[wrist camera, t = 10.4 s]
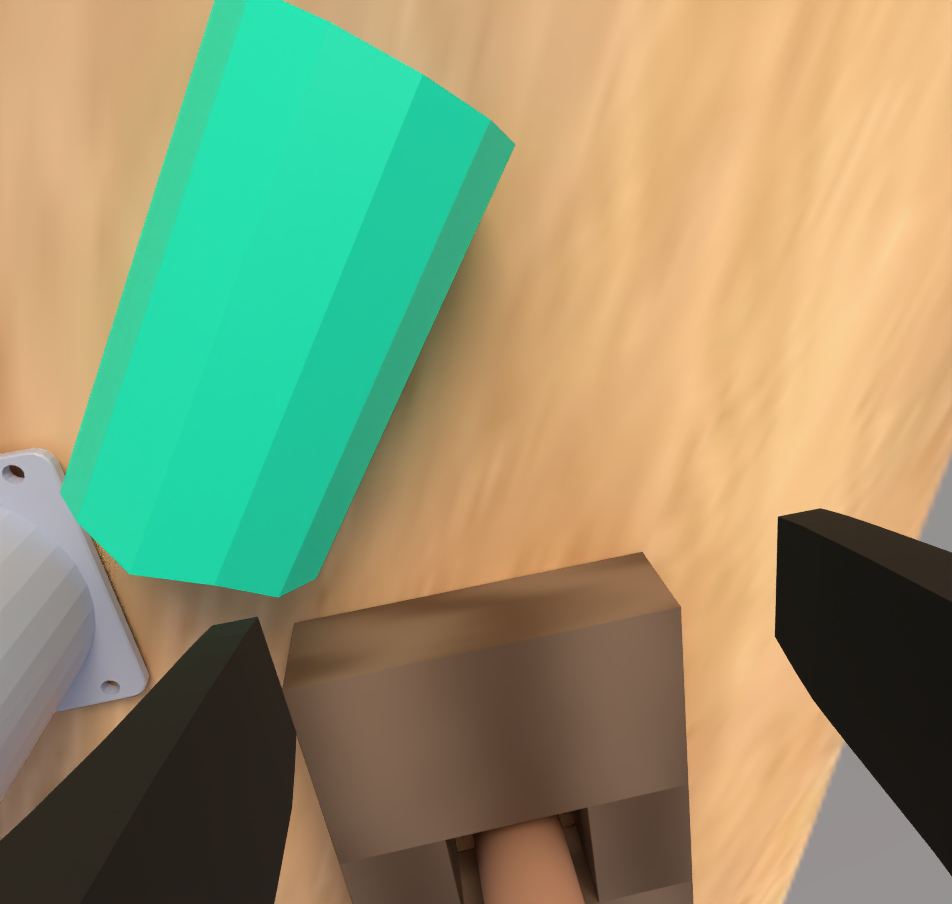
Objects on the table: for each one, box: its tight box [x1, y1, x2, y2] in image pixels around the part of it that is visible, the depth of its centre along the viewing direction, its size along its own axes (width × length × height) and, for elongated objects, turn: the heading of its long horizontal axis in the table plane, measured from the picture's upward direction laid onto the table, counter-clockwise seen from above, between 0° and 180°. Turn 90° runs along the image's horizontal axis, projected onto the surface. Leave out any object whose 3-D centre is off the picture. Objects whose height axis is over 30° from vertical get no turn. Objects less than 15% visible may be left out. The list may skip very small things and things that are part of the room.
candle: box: [60, 0, 515, 598], centre depth 15 cm, size 6×6×12 cm
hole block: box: [282, 552, 693, 904], centre depth 24 cm, size 11×18×3 cm, turn 9°
